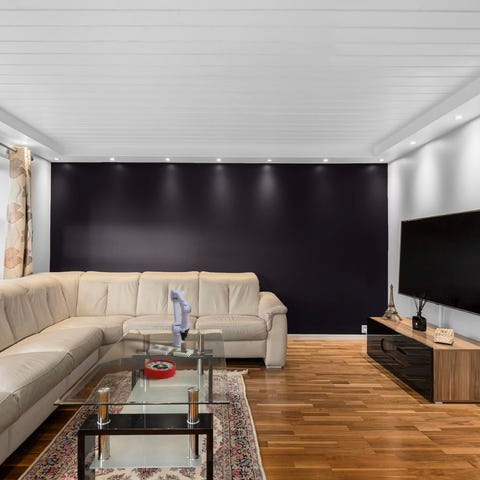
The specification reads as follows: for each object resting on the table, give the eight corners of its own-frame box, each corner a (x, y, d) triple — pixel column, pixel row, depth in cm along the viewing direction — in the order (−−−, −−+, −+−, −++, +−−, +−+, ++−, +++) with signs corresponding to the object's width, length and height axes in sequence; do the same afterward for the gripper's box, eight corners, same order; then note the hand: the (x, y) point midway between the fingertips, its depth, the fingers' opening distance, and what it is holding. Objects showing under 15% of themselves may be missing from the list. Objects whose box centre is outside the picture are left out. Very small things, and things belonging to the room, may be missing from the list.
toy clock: (142, 369, 260) (147, 358, 280) (142, 379, 260) (146, 367, 280) (174, 371, 261) (177, 360, 281) (174, 380, 262) (176, 368, 282)
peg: (181, 352, 313) (182, 342, 312) (186, 353, 312) (187, 343, 312) (179, 354, 309) (180, 344, 308) (185, 355, 308) (185, 344, 308)
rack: (178, 350, 317) (178, 347, 317) (193, 352, 315) (193, 349, 315) (172, 355, 306) (173, 352, 305) (188, 357, 303) (188, 354, 303)
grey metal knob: (154, 348, 317) (154, 345, 317) (159, 349, 316) (159, 345, 316) (152, 350, 313) (152, 346, 313) (157, 351, 312) (157, 347, 312)
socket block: (155, 346, 322) (155, 344, 322) (172, 349, 319) (172, 346, 319) (148, 352, 308) (148, 349, 308) (166, 355, 306) (166, 352, 305)
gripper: (182, 318, 323) (181, 335, 324) (177, 323, 308) (176, 341, 309) (191, 319, 322) (189, 336, 323) (187, 324, 308) (186, 342, 309)
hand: (184, 339), depth 316 cm, fingers open, 7 cm apart
